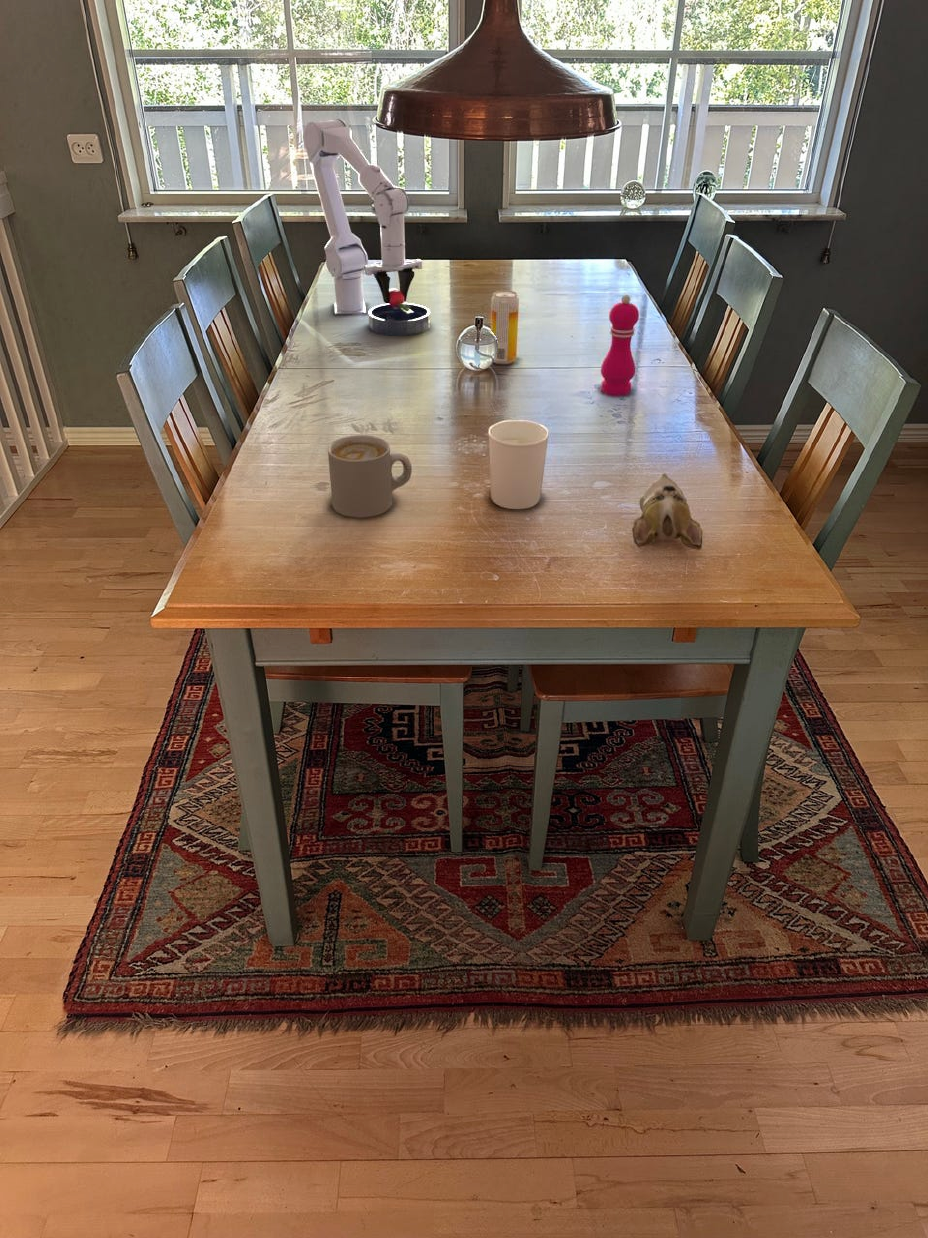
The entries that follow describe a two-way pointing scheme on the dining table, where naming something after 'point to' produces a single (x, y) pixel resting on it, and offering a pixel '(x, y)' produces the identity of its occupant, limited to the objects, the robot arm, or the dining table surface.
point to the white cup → (517, 462)
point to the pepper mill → (620, 349)
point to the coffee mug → (364, 475)
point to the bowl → (399, 320)
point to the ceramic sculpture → (666, 516)
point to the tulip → (398, 300)
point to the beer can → (505, 324)
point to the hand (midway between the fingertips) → (394, 301)
